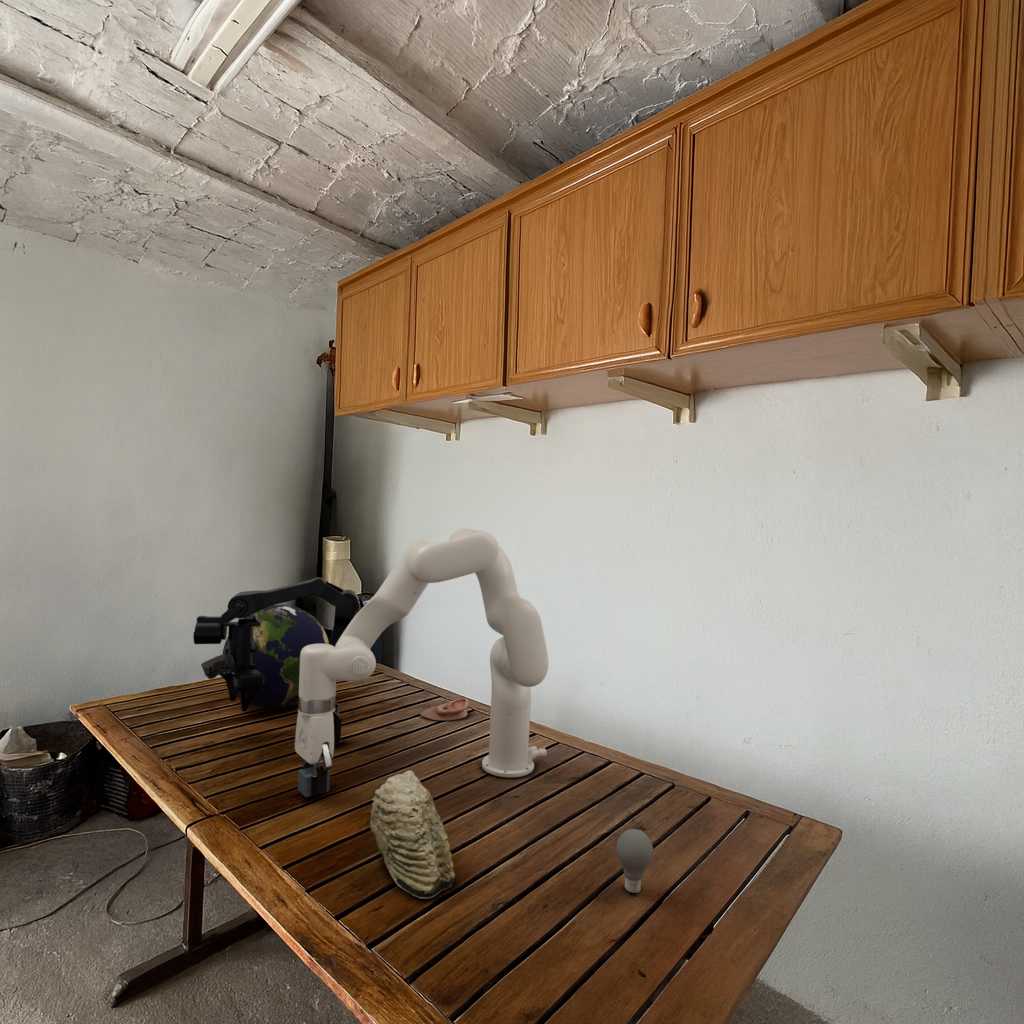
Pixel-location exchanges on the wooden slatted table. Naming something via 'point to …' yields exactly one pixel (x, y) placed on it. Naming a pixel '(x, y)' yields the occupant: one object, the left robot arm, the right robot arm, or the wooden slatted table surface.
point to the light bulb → (634, 857)
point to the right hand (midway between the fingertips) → (313, 788)
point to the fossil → (412, 836)
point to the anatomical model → (447, 710)
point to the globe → (281, 652)
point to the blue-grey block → (308, 781)
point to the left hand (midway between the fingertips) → (238, 706)
